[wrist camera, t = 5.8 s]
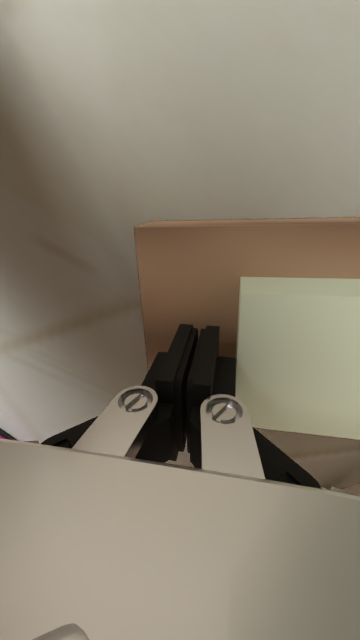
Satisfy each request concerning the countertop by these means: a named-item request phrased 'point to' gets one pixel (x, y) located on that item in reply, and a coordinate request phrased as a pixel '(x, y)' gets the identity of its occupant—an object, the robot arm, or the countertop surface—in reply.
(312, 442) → the countertop surface
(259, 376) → the pale green sponge block
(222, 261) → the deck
